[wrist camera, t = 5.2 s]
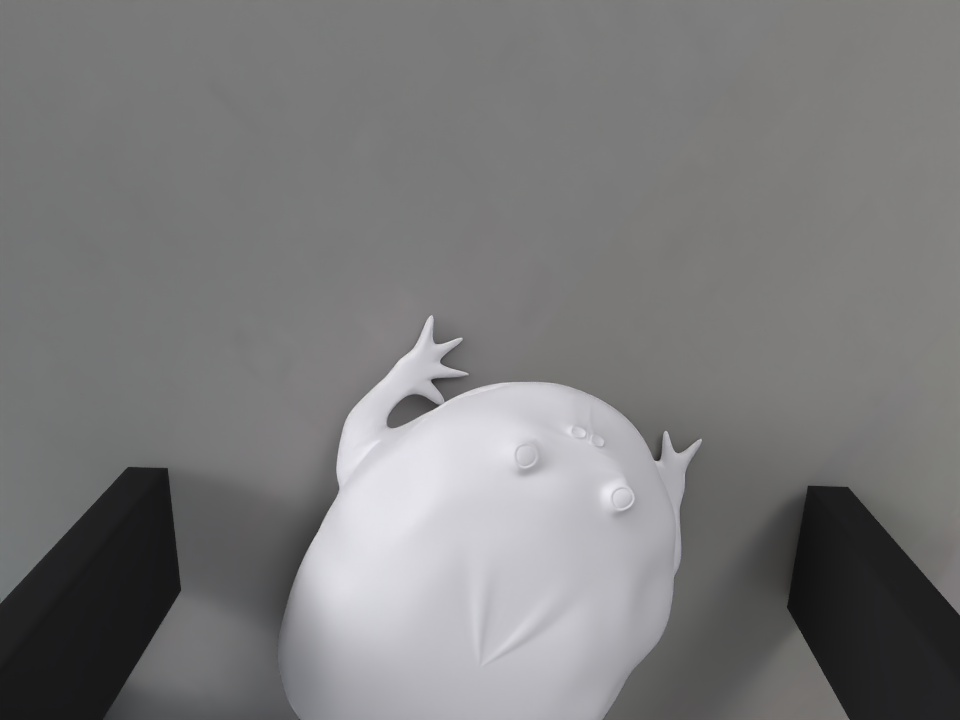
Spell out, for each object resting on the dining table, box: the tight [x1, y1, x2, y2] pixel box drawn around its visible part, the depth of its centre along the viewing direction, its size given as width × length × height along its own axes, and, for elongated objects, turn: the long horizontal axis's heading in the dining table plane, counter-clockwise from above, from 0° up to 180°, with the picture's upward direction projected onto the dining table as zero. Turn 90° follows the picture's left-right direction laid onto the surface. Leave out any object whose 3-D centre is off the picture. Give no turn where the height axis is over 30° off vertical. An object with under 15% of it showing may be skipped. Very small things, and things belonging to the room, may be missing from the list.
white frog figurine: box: [277, 316, 702, 720], centre depth 14 cm, size 8×7×4 cm
